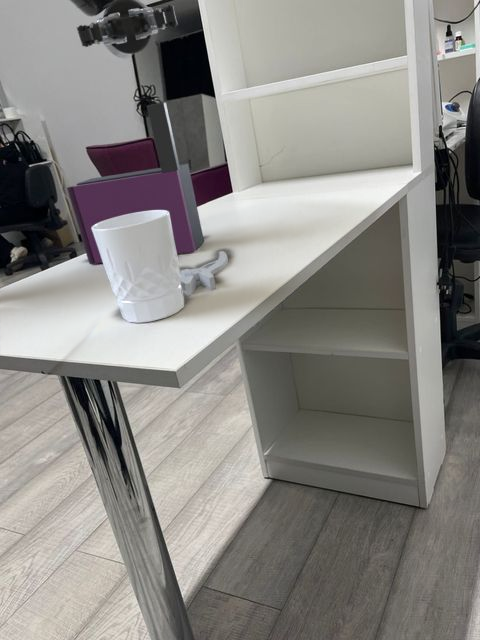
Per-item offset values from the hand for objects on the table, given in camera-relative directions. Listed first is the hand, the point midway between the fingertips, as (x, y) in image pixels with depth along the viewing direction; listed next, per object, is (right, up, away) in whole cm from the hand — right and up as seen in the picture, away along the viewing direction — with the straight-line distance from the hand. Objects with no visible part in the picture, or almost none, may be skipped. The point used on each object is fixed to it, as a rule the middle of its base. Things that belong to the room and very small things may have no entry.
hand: (128, 25), depth 74 cm
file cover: (0, -30, +8) cm, 31 cm away
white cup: (+7, -41, -16) cm, 44 cm away
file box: (+1, -29, +11) cm, 31 cm away
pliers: (+10, -35, -5) cm, 37 cm away
